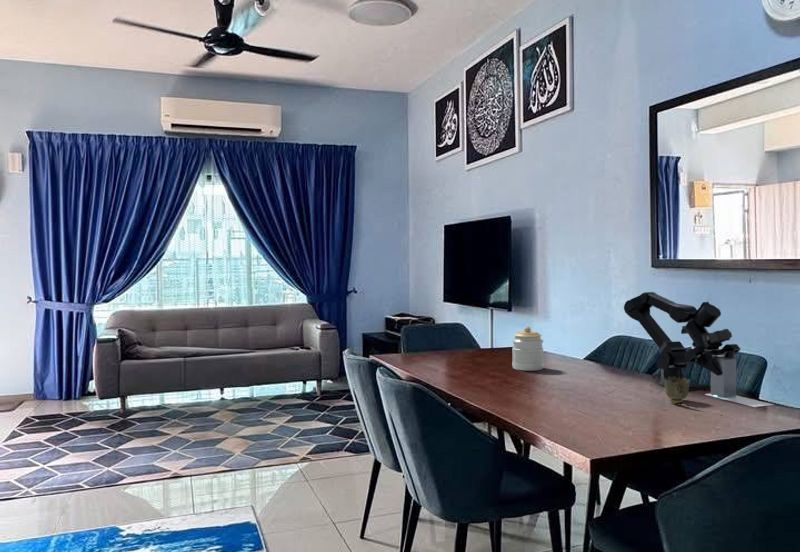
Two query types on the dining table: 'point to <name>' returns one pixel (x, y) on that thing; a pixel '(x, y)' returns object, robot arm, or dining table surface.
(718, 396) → the teal base with post
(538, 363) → the jar
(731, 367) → the tall grey box
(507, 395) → the dining table surface
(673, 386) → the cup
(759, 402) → the mounting plate
